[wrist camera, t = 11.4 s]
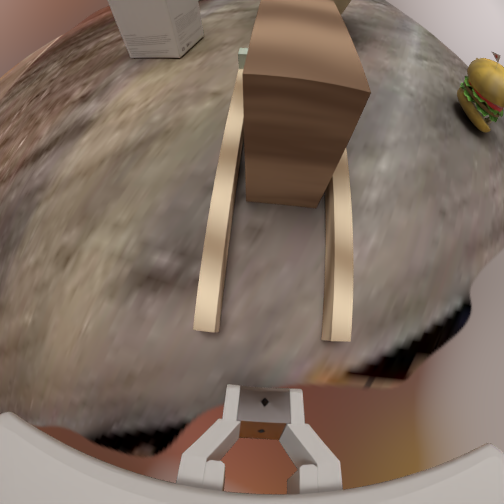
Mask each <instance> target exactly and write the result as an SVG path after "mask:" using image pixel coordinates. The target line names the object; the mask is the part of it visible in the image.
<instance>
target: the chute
mask: <svg viewBox="0 0 504 504" xmlns="http://www.w3.org/2000/svg"><path fill="white" fill-rule="evenodd" d="M242 73H243V69H239V70H238V75H237V79H236V83H235V87H234V91H233V95H232V100H231V104H230V109H229V113H228V118H227V122H226V127H225V132H224V136H223V141H222V146H221V151H220V156H219V161H218V166H217V172H216V177H215V182H214V188H213V194H212V199H211V205H210V211H209V217H208V223H207V229H206V236H205V242H204V249H203V256H202V263H201V270H200V277H199V285H198V292H197V300H196V309H195V317H194V326H193V330H199V331H207V332H219V327H220V318H221V308H222V299H223V290H224V282H225V273H226V265H227V256H228V248H229V240H230V232H231V225H232V217H233V209H234V202H235V195H236V187H237V180H238V173H239V166H240V159H241V152H242V146H243V139H244V113H243V76H242ZM325 213H326V249H325V286H324V307H323V323H322V336H321V340H326V341H351V327H352V307H353V228H352V207H351V193H350V180H349V170H348V160H347V151H346V148H345V150H344V153H343V155H342V157H341V159H340V161H339V163H338V165H337V167H336V169H335V171H334V173H333V175H332V177H331V179H330V181H329V184H328V186H327V188H326V190H325Z"/></svg>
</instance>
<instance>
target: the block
mask: <svg viewBox="0 0 504 504" xmlns="http://www.w3.org/2000/svg"><path fill="white" fill-rule="evenodd" d="M242 76H243V113H244V147H245V179H246V201H248V202H260V203H270V204H281V205H290V206H300V207H308V208H317V206H318V204H319V202H320V200H321V198H322V196H323V194H324V192H325V190H326V188H327V186H328V184H329V181H330V179H331V177H332V175H333V173H334V171H335V169H336V167H337V165H338V163H339V161H340V159H341V157H342V155H343V153H344V150H345V148H346V146H347V144H348V142H349V140H350V138H351V136H352V133H353V131H354V129H355V127H356V125H357V123H358V120H359V118H360V116H361V114H362V112H363V109H364V107H365V105H366V103H367V100H368V98H369V96H370V94H371V91H370V88H369V85H368V82H367V79H366V76H365V73H364V70H363V67H362V65H361V62H360V59H359V57H358V54H357V51H356V49H355V46H354V44H353V42H352V39H351V37H350V35H349V32H348V30H347V28H346V26H345V23H344V21H343V19H342V17H341V15H340V13H339V11H338V9H337V7H336V5H335V3H334V1H330V0H261V2H260V5H259V9H258V13H257V16H256V20H255V24H254V28H253V32H252V36H251V40H250V44H249V48H248V52H247V56H246V60H245V65H244V69H243V73H242Z"/></svg>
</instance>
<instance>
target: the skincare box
mask: <svg viewBox="0 0 504 504" xmlns="http://www.w3.org/2000/svg"><path fill="white" fill-rule="evenodd" d="M108 2H109V5H110V7H111V10H112V13H113V15H114V18H115V20H116V23H117V25H118V28H119V30H120V33H121V35H122V38H123V40H124V43H125V45H126V48H127V50H128V53H129V55H130V58H155V57H162V58H180V57H182V56H183V55H184V54H185V53H186V52H187V51H188V50H189V49H190V48H191V47H192V46H193V45H194V44H196V43H197V42H198V41H199V40H200V39H201V38H202V37H203V36H204V32H203V27H202V21H201V15H200V9H199V3H198V0H108Z"/></svg>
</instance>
